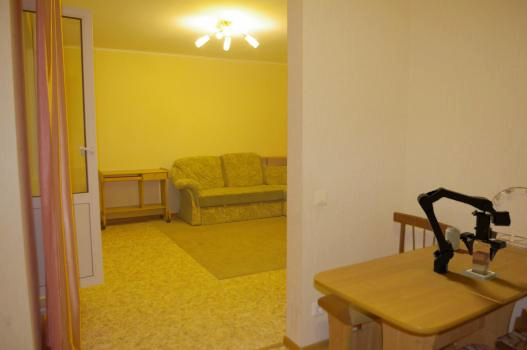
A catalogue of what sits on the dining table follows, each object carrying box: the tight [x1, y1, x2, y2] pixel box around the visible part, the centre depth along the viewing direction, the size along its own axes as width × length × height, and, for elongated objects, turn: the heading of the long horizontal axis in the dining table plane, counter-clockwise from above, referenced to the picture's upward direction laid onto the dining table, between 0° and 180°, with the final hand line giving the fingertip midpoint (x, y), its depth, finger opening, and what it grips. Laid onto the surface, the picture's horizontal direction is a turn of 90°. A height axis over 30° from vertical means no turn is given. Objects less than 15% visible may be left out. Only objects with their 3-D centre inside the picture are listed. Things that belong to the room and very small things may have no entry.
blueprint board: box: [460, 267, 501, 282], centre depth 179 cm, size 12×12×2 cm
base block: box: [471, 262, 490, 276], centre depth 178 cm, size 5×5×5 cm
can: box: [444, 226, 462, 251], centre depth 216 cm, size 8×8×12 cm
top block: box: [471, 250, 491, 266], centre depth 178 cm, size 5×5×5 cm
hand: (481, 258), depth 178 cm, fingers open, 9 cm apart
